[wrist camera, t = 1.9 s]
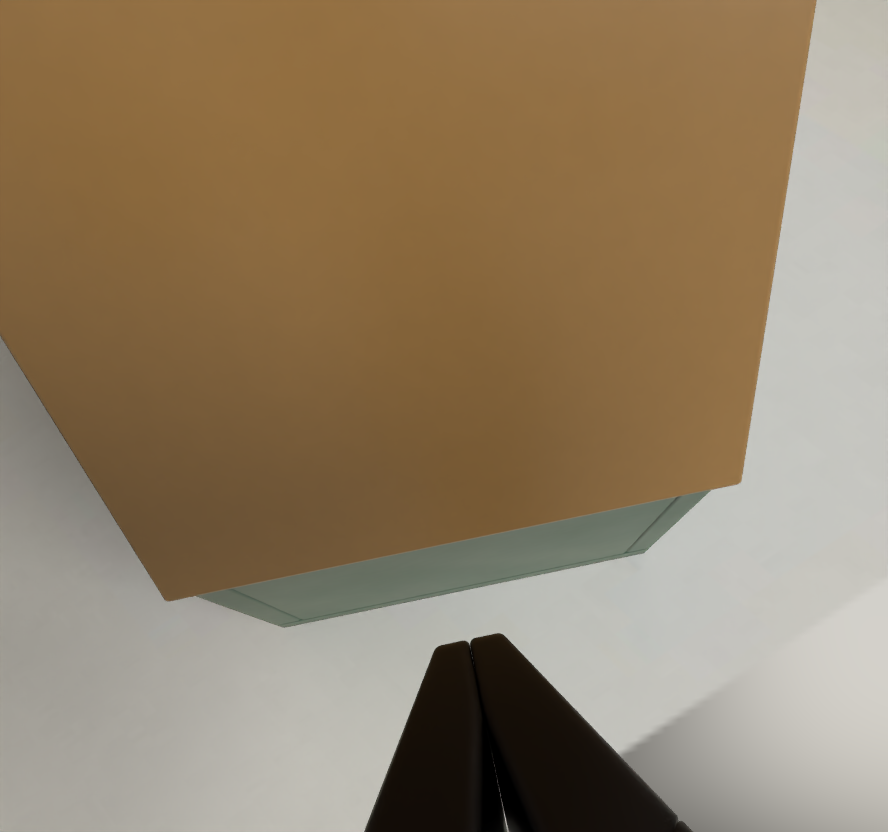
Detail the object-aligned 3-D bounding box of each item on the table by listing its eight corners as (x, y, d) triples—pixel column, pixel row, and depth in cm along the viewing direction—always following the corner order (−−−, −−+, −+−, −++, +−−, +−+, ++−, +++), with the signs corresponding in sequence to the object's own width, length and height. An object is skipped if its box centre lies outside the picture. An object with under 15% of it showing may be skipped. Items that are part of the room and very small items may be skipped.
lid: (-502, -566, 6) (-599, -616, 5) (892, -802, 6) (958, -875, 5) (171, 572, 15) (165, 604, 14) (724, 458, 15) (742, 485, 14)
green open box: (242, 264, 28) (148, 94, 20) (541, 205, 28) (562, 16, 20) (282, 628, 23) (177, 591, 15) (645, 552, 23) (726, 478, 15)
